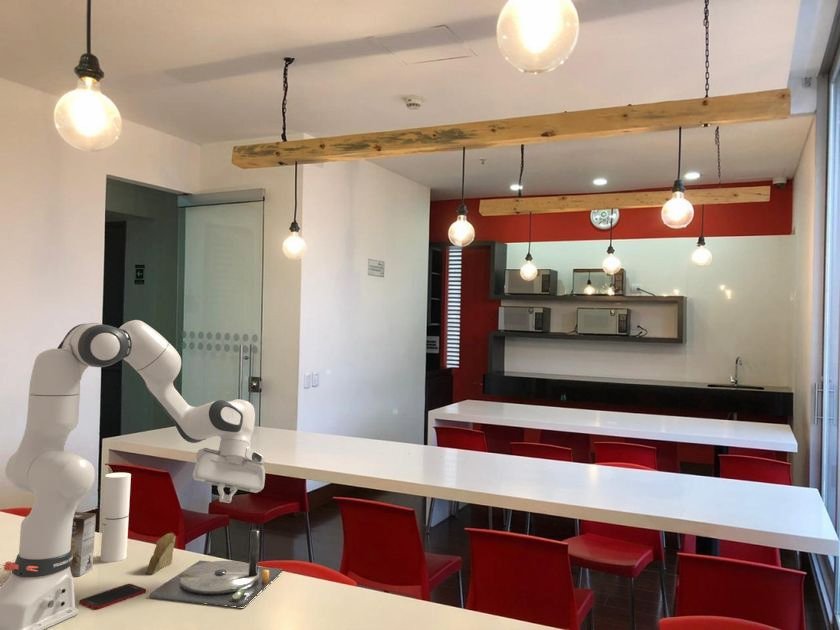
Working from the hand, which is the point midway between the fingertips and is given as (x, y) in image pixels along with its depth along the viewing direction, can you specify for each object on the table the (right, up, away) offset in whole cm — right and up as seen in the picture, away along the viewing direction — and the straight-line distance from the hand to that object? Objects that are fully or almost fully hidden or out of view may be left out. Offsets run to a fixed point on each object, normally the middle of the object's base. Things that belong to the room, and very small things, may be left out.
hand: (225, 501), depth 183 cm
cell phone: (-25, -21, -14) cm, 36 cm away
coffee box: (-44, -21, +3) cm, 49 cm away
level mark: (+12, -21, -2) cm, 25 cm away
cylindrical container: (-38, -22, +15) cm, 46 cm away
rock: (-22, -22, +8) cm, 32 cm away
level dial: (-1, -21, -2) cm, 21 cm away
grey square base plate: (-1, -22, -3) cm, 22 cm away
